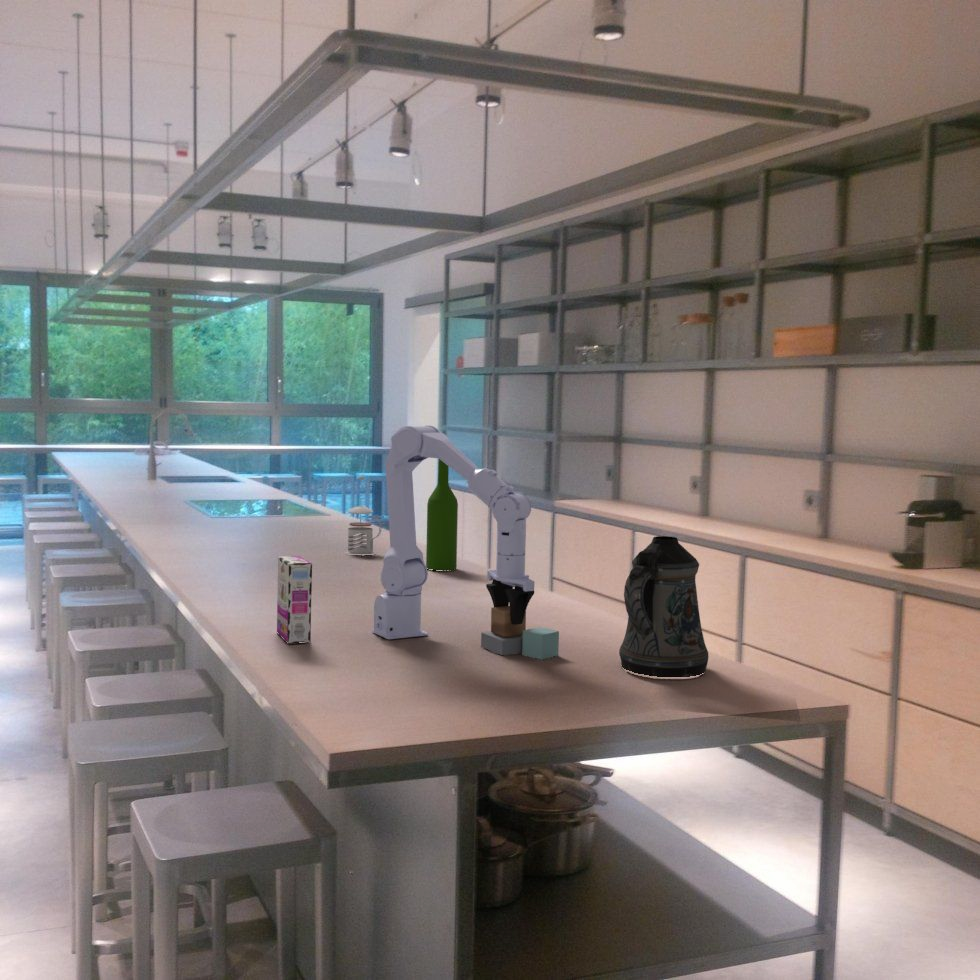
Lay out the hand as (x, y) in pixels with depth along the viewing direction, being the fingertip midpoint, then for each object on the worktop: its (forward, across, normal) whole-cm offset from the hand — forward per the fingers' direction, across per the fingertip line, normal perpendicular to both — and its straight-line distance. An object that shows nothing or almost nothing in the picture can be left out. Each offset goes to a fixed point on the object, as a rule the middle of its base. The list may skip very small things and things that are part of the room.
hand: (509, 621), depth 208 cm
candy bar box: (+6, +27, +35) cm, 45 cm away
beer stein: (+6, -27, -17) cm, 32 cm away
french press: (+6, +129, -26) cm, 132 cm away
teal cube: (+6, -7, -3) cm, 10 cm away
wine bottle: (+6, +93, -35) cm, 100 cm away
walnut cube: (+2, 0, 0) cm, 2 cm away
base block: (+6, 0, 0) cm, 6 cm away
